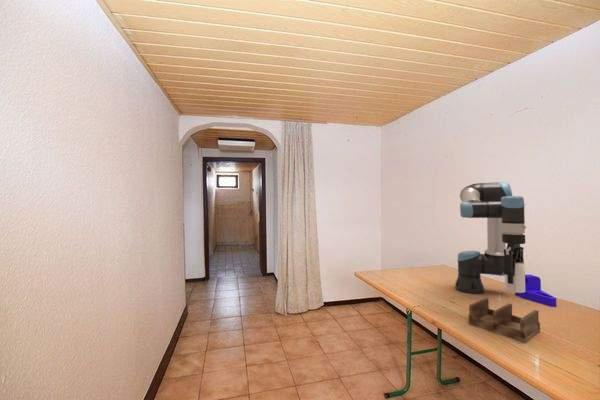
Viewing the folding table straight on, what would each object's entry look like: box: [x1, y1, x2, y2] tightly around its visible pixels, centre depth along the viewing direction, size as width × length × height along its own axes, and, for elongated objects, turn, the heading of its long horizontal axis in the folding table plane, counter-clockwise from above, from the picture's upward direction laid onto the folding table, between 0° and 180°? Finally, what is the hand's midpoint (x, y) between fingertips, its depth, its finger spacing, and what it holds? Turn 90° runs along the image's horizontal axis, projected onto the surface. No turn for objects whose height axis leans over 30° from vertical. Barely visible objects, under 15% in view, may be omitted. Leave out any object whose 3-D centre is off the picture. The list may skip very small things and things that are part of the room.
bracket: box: [514, 274, 557, 308], centre depth 145 cm, size 18×11×12 cm, turn 1°
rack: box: [468, 297, 541, 344], centre depth 114 cm, size 20×16×8 cm
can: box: [504, 261, 526, 294], centre depth 111 cm, size 6×6×12 cm
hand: (515, 289), depth 111 cm, fingers closed on can, 6 cm apart
